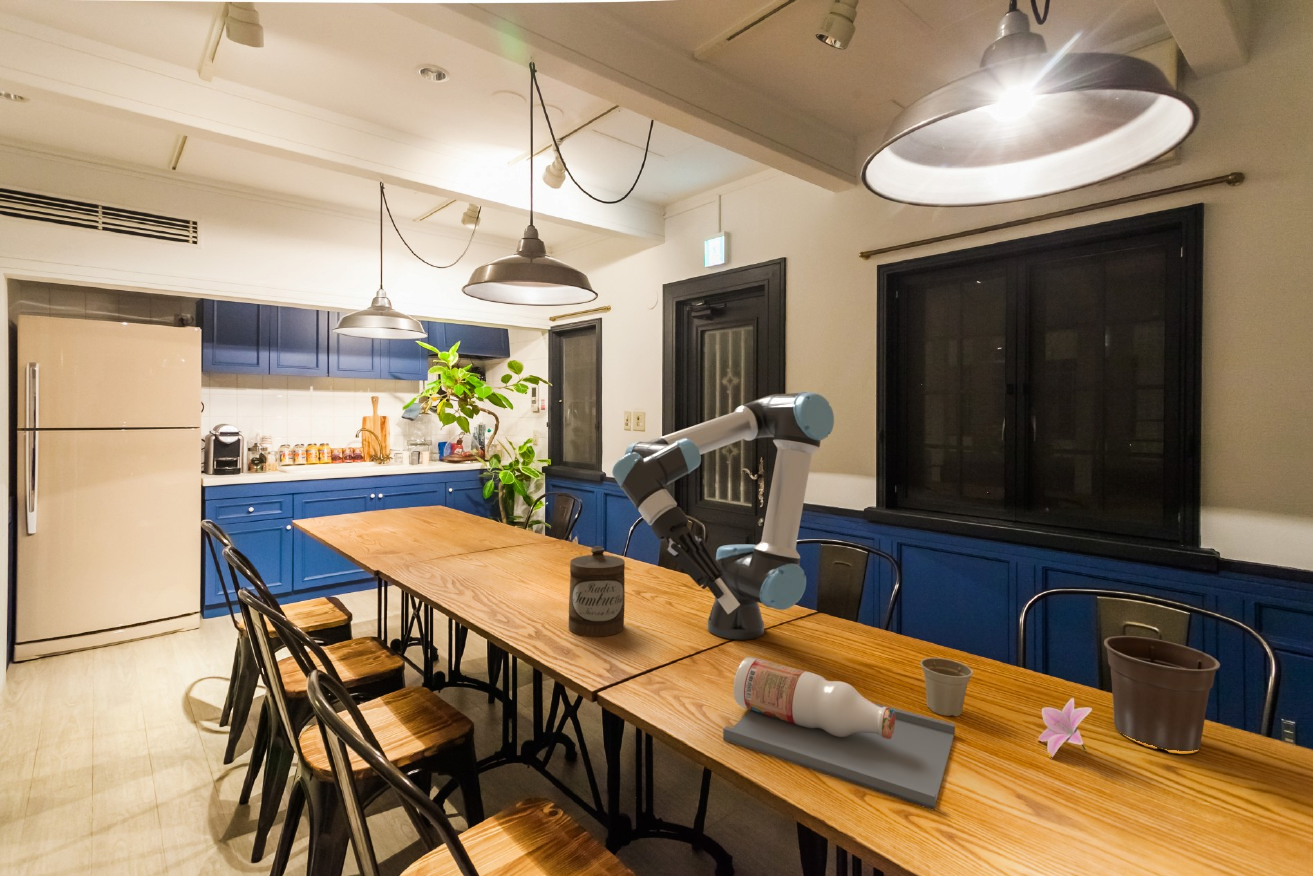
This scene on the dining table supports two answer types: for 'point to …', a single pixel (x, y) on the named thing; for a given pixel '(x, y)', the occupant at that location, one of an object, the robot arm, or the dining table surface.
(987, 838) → the dining table surface
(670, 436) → the robot arm
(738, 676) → the fruit juice
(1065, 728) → the lily
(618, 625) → the wooden container
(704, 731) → the dining table surface
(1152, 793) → the dining table surface
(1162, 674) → the plant pot
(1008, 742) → the dining table surface
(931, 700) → the flower pot
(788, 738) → the gray tray
